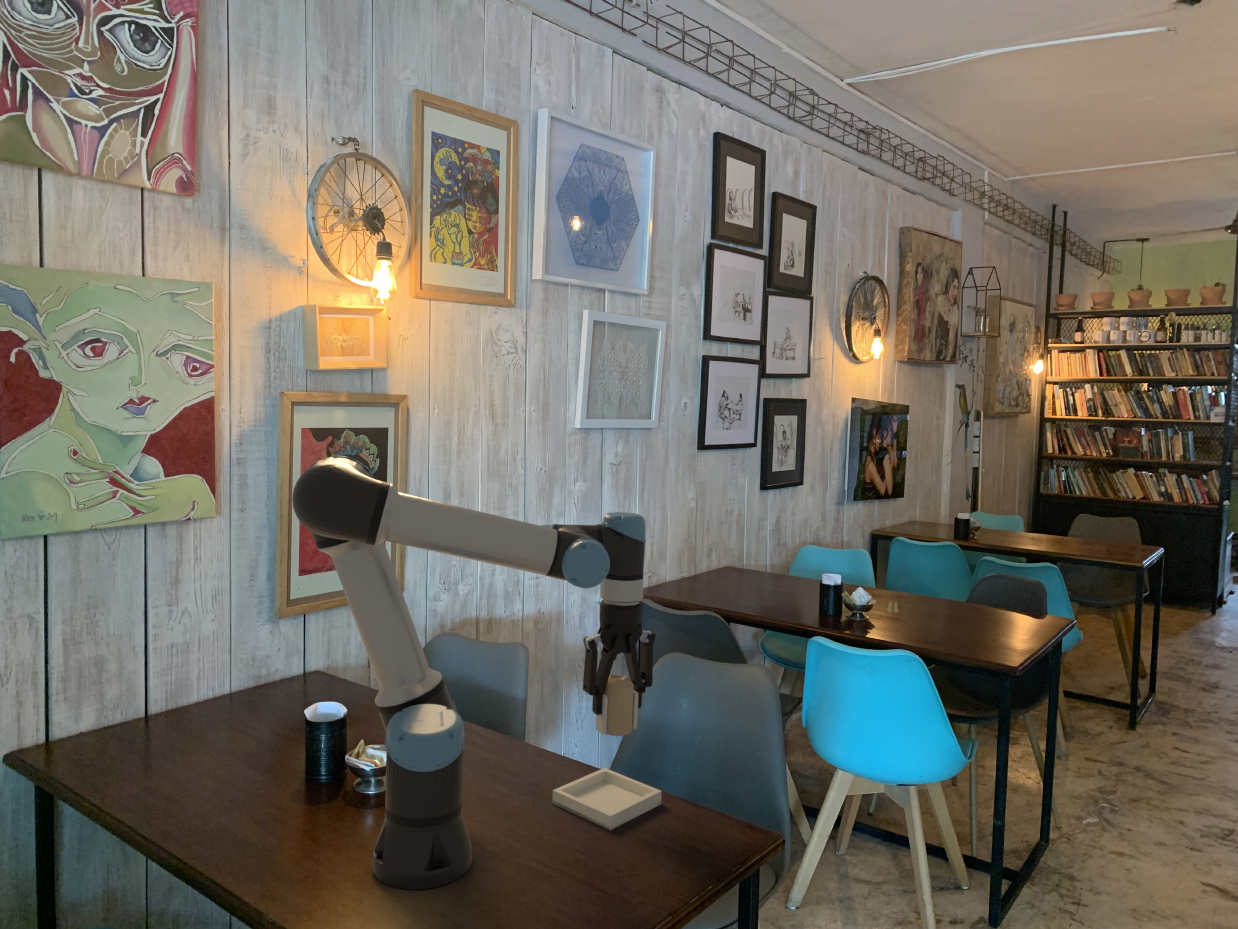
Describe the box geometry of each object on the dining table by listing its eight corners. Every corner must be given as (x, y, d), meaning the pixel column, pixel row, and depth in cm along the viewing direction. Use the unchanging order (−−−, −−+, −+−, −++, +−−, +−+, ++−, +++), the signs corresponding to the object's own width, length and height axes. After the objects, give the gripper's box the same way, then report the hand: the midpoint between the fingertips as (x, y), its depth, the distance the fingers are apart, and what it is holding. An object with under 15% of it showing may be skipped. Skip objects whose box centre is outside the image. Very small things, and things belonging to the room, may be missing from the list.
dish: (661, 804, 161) (661, 790, 160) (610, 830, 150) (610, 816, 150) (604, 780, 170) (604, 767, 170) (552, 803, 159) (552, 790, 159)
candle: (633, 726, 159) (635, 672, 159) (629, 737, 154) (632, 681, 153) (603, 723, 160) (605, 669, 159) (598, 735, 155) (600, 679, 154)
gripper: (655, 592, 163) (649, 714, 165) (564, 599, 154) (560, 729, 156) (677, 601, 157) (671, 728, 158) (584, 609, 148) (579, 744, 149)
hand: (616, 728), depth 157 cm, fingers closed on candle, 5 cm apart
